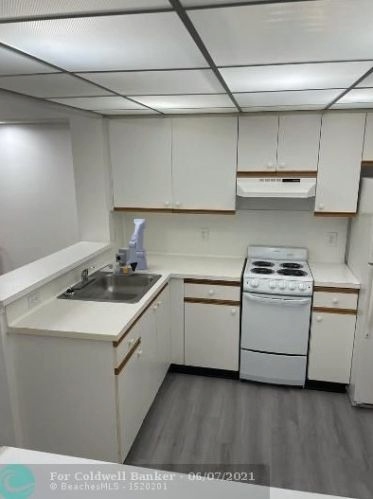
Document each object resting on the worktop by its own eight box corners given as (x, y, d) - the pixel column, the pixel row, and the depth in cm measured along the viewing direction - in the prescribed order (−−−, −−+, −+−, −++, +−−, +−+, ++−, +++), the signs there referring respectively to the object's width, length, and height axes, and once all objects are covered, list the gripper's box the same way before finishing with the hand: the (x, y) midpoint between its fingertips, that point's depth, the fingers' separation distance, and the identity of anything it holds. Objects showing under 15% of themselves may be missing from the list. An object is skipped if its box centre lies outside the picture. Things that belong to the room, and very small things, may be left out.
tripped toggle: (127, 272, 299) (127, 266, 298) (127, 273, 296) (127, 267, 295) (123, 272, 299) (123, 267, 297) (123, 273, 296) (123, 268, 295)
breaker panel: (133, 269, 314) (132, 264, 313) (132, 275, 296) (132, 270, 295) (114, 269, 312) (114, 264, 311) (112, 275, 294) (112, 270, 293)
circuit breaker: (114, 266, 322) (114, 250, 318) (124, 262, 334) (124, 247, 331) (121, 267, 318) (120, 251, 315) (131, 263, 331) (130, 248, 327)
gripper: (136, 253, 303) (136, 268, 306) (123, 256, 292) (123, 272, 295) (142, 254, 298) (142, 270, 301) (129, 257, 287) (129, 273, 290)
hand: (133, 271), depth 298 cm, fingers closed
